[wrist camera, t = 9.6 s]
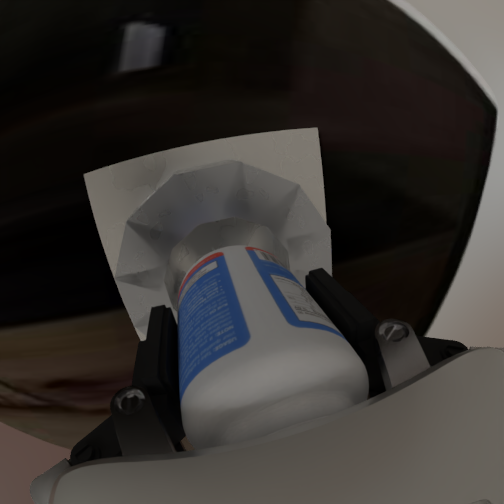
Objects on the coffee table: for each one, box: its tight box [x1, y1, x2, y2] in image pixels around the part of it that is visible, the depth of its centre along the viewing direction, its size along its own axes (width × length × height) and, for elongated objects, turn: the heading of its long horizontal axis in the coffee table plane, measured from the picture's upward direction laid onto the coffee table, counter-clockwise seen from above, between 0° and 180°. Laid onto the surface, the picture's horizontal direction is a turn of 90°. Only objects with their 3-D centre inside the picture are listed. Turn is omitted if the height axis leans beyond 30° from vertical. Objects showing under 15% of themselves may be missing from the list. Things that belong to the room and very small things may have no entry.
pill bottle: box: [177, 245, 369, 450], centre depth 8 cm, size 6×5×10 cm
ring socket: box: [84, 128, 332, 341], centre depth 16 cm, size 14×14×4 cm
